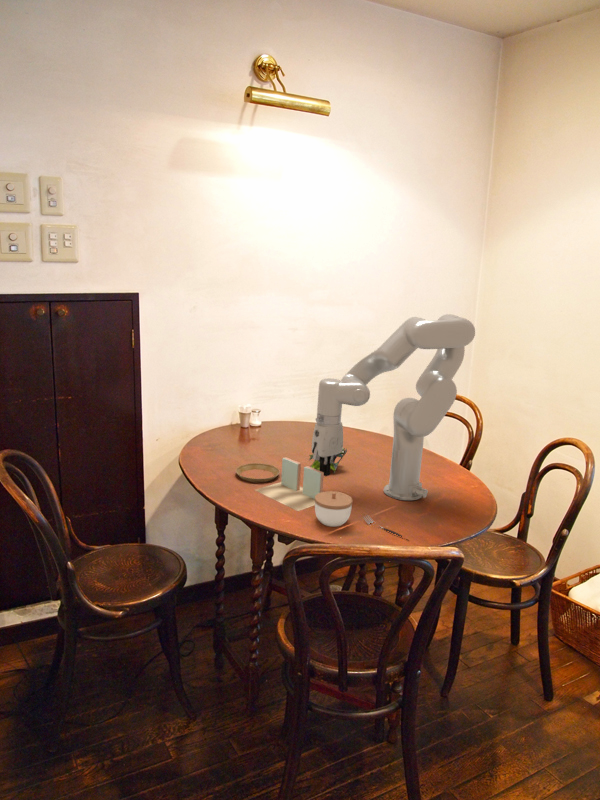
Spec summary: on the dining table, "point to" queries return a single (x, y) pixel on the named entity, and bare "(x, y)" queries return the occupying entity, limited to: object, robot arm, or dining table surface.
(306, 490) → the tile
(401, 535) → the fork
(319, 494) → the lidded jar
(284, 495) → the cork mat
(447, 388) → the robot arm
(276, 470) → the plant saucer
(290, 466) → the tile
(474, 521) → the dining table surface
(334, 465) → the passion flower
